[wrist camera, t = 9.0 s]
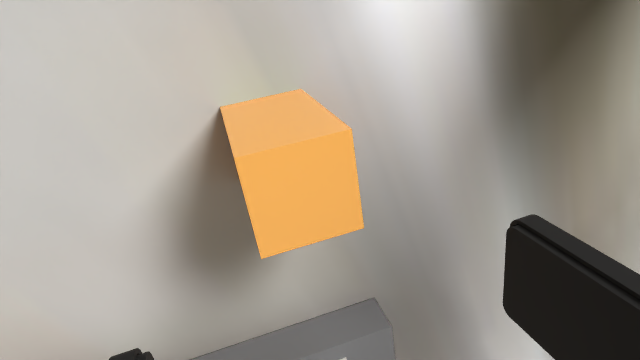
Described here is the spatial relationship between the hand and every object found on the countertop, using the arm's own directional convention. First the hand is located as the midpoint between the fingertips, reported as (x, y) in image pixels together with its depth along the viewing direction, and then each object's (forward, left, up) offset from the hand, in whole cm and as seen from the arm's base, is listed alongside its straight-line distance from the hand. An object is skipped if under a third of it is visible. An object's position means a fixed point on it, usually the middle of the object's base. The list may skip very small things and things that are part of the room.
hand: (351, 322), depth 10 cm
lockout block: (-1, 0, -15) cm, 15 cm away
